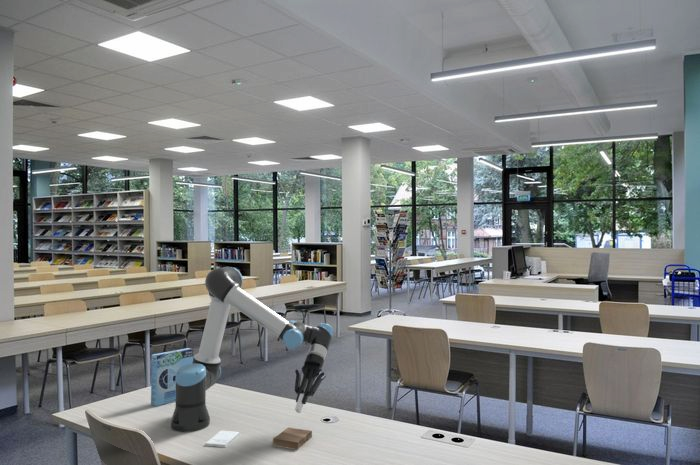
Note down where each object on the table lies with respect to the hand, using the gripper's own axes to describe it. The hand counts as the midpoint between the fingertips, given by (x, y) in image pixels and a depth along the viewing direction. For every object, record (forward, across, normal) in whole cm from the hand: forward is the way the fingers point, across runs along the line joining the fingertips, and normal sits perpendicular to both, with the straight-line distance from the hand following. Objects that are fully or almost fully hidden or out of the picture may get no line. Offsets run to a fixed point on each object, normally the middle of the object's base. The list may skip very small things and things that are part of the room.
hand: (297, 411), depth 188 cm
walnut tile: (+5, 0, -8) cm, 9 cm away
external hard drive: (+16, +26, +1) cm, 30 cm away
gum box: (-7, +75, -21) cm, 78 cm away
